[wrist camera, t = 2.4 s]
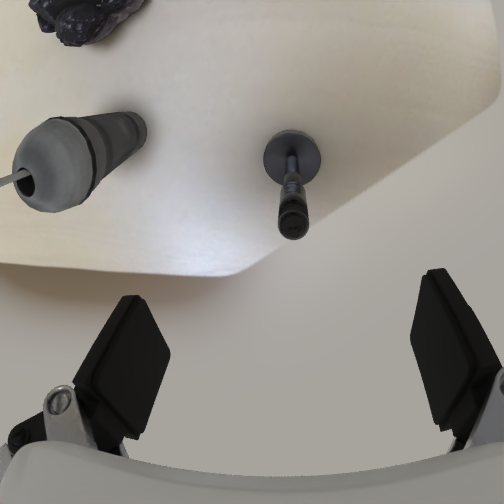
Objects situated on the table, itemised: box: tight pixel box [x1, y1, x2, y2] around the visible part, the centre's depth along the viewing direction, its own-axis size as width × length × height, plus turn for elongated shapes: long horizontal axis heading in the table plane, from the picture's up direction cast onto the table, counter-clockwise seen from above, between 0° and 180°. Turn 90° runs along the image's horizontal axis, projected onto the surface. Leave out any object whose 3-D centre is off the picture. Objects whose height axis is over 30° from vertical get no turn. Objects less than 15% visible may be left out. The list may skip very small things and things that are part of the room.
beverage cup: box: [0, 112, 147, 213], centre depth 20 cm, size 7×7×20 cm
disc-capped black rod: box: [263, 130, 321, 240], centre depth 21 cm, size 5×5×16 cm
